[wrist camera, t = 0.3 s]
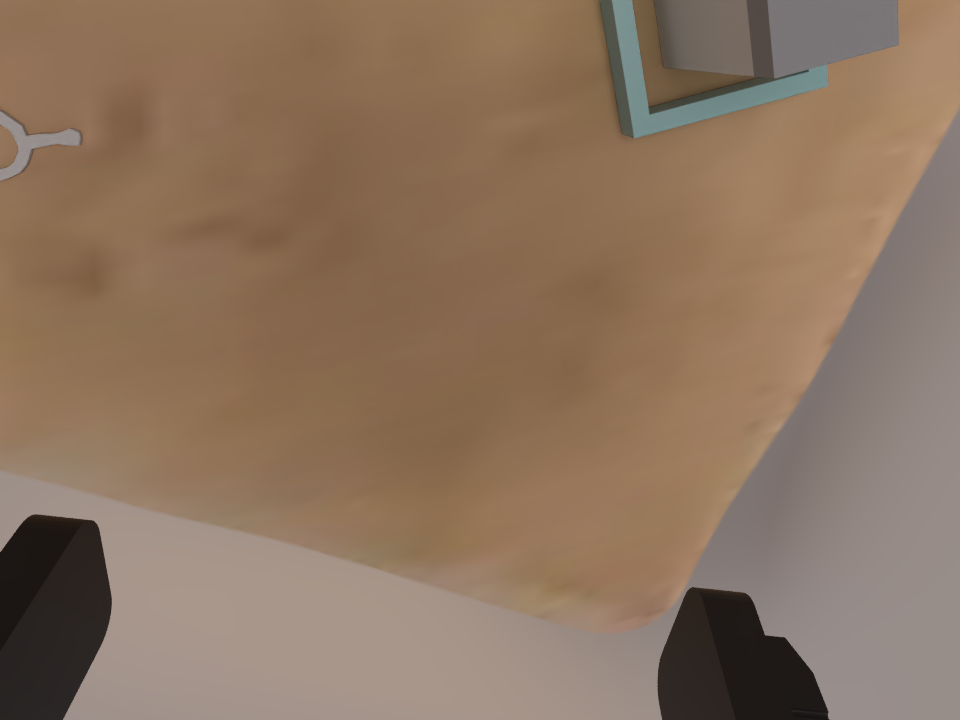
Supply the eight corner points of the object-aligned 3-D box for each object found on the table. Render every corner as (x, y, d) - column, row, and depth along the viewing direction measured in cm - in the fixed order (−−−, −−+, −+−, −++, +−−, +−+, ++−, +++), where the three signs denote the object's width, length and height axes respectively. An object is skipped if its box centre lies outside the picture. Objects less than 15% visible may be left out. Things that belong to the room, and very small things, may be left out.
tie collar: (586, -77, 32) (598, -85, 30) (789, -133, 32) (813, -143, 30) (622, 133, 35) (634, 138, 33) (805, 83, 35) (828, 86, 33)
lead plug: (649, -31, 33) (761, -63, 23) (740, -56, 33) (894, -99, 23) (663, 67, 34) (774, 78, 24) (751, 43, 34) (898, 45, 24)
